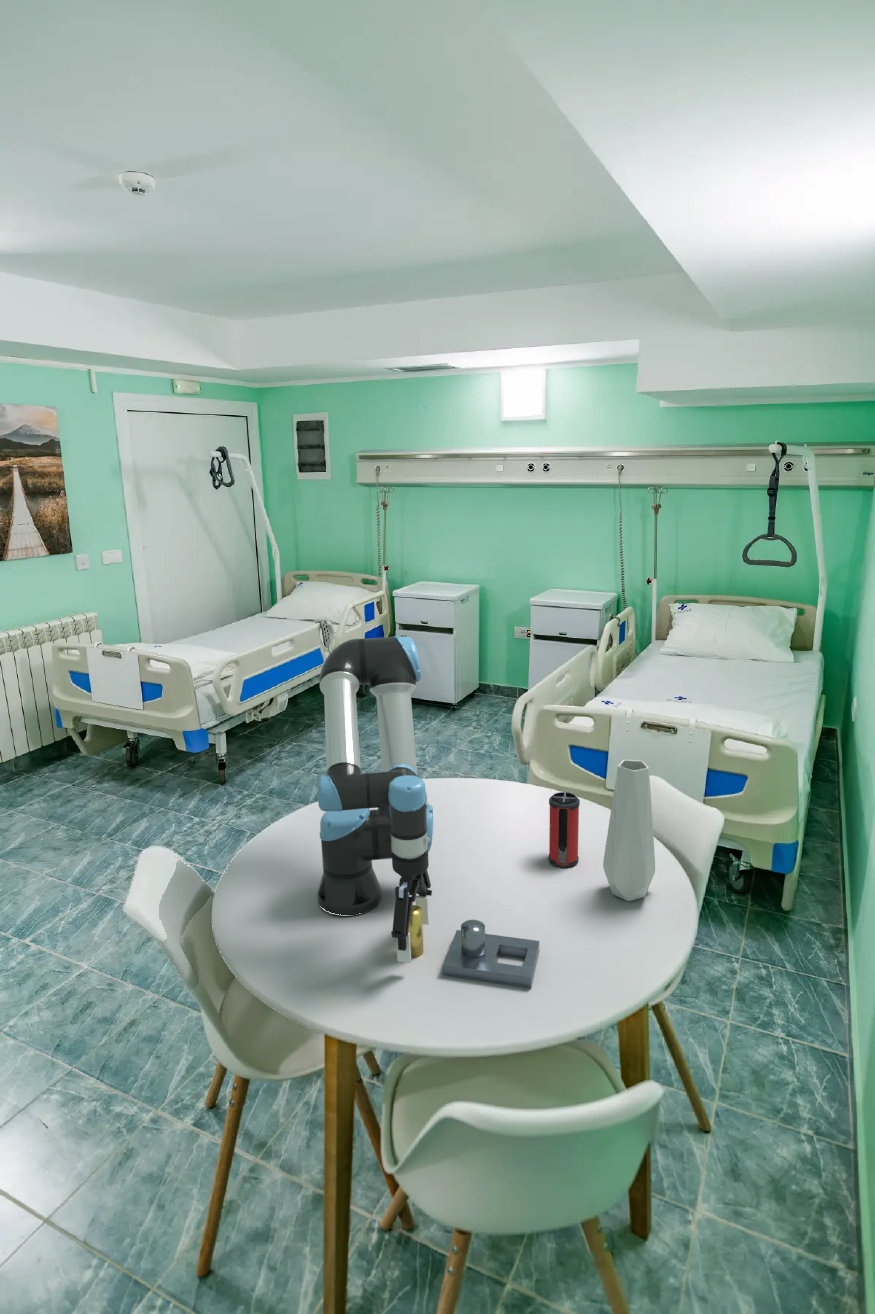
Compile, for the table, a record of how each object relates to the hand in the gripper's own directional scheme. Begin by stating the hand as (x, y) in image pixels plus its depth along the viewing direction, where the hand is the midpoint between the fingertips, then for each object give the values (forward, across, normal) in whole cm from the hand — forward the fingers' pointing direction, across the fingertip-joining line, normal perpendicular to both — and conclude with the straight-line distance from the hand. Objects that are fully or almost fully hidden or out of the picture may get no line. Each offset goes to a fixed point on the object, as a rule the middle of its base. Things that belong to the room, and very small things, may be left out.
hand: (413, 941), depth 160 cm
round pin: (+3, 0, 0) cm, 3 cm away
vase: (+3, +33, -43) cm, 55 cm away
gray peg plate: (+3, 0, -17) cm, 17 cm away
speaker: (+2, +45, -27) cm, 53 cm away
